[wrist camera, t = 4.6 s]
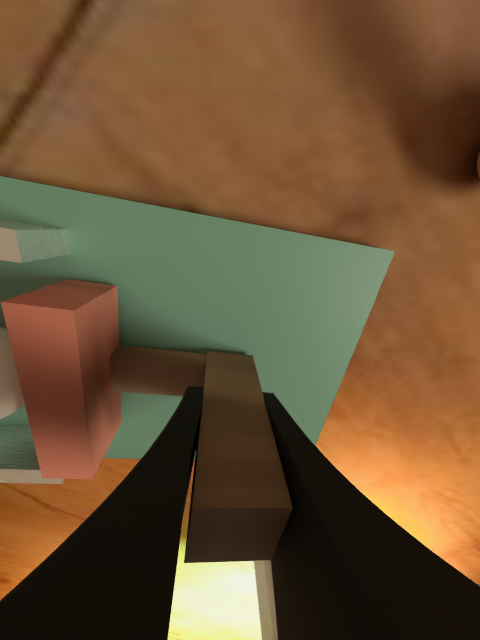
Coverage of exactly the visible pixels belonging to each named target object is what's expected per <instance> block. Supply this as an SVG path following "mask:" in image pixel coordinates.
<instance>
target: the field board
mask: <svg viewBox="0 0 480 640" xmlns="http://www.w3.org/2000/svg"><path fill="white" fill-rule="evenodd" d="M0 218H1V219H7V220H13V221H19V222H25V223H31V224H37V225H43V226H49V227H55V228H61V229H67V236H68V245H69V255H63V256H58V257H52V258H47V259H41V260H35V261H30V262H24V263H18V262H11V261H4V260H0V327H3V328H7V326H6V322H5V318H4V313H3V309H2V305H1V302H2V301H5V300H8V299H11V298H14V297H17V296H20V295H23V294H25V293H28V292H31V291H34V290H37V289H40V288H43V287H46V286H49V285H52V284H55V283H58V282H61V281H64V280H67V279H71V280H79V281H86V282H93V283H100V284H108V285H115V286H117V289H118V320H119V345H123V346H133V347H143V348H152V349H162V350H172V351H182V352H192V353H201V354H207V351H215V352H224V353H234V354H243V355H253V358H254V362H255V366H256V370H257V373H258V377H259V381H260V385H261V389H262V392H268V393H274V394H275V396H276V397H277V398H278V400H279V401H280V402H281V404H282V405H283V406H284V408H285V409H286V410H287V412H288V413H289V414H290V416H291V417H292V418H293V420H294V421H295V422H296V423H297V425H298V426H299V427H300V428H301V430H302V431H303V432H304V433H305V434H306V436H307V437H308V438H309V439H310V440H311V442H312V443H313V444H314V445H316V442H317V440H318V437H319V435H320V432H321V430H322V428H323V425H324V423H325V420H326V418H327V415H328V413H329V411H330V408H331V406H332V403H333V401H334V398H335V396H336V394H337V391H338V389H339V386H340V384H341V381H342V379H343V376H344V374H345V372H346V369H347V367H348V364H349V362H350V359H351V357H352V355H353V352H354V350H355V347H356V345H357V342H358V340H359V338H360V335H361V333H362V330H363V328H364V325H365V323H366V321H367V318H368V316H369V313H370V311H371V308H372V306H373V303H374V301H375V299H376V296H377V294H378V291H379V289H380V286H381V284H382V282H383V279H384V277H385V274H386V272H387V269H388V267H389V265H390V262H391V260H392V257H393V255H394V252H395V251H390V250H385V249H380V248H375V247H369V246H364V245H359V244H354V243H349V242H343V241H338V240H333V239H328V238H322V237H317V236H312V235H307V234H301V233H296V232H291V231H286V230H280V229H275V228H270V227H265V226H259V225H254V224H249V223H244V222H238V221H233V220H228V219H223V218H217V217H212V216H207V215H202V214H196V213H191V212H186V211H181V210H175V209H170V208H165V207H160V206H154V205H149V204H144V203H139V202H134V201H128V200H123V199H118V198H113V197H107V196H102V195H97V194H92V193H86V192H81V191H76V190H71V189H65V188H60V187H55V186H50V185H44V184H39V183H34V182H29V181H23V180H18V179H13V178H8V177H2V176H0ZM182 398H183V397H181V396H168V395H154V394H141V393H127V392H121V411H122V422H121V424H120V426H119V428H118V430H117V432H116V434H115V436H114V438H113V440H112V442H111V444H110V446H109V448H108V450H107V452H106V454H105V456H104V458H127V459H141V458H142V457H143V456H144V455H145V453H146V452H147V451H148V450H149V448H150V447H151V446H152V444H153V443H154V442H155V440H156V439H157V437H158V436H159V435H160V433H161V432H162V430H163V429H164V428H165V426H166V425H167V423H168V421H169V420H170V418H171V417H172V415H173V414H174V412H175V410H176V409H177V407H178V405H179V403H180V402H181V400H182ZM0 424H20V425H30V424H29V420H28V415H27V411H26V407H25V405H24V406H22V407H21V408H20V409H18V410H17V411H15V412H14V413H12V414H10V415H8V416H6V417H4V418H2V419H0ZM195 455H196V452H195ZM194 461H195V457H194Z"/></svg>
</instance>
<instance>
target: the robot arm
mask: <svg viewBox="0 0 480 640" xmlns="http://www.w3.org/2000/svg"><path fill="white" fill-rule="evenodd" d="M203 392H204V387H195V386H189V387H187V388H186V391H185V393H184V395H183V398H182V400H181V402H180V403H179V405H178V407H177V409H176V410H175V412H174V414H173V415H172V417H171V418H170V420H169V421H168V423H167V425H166V426H165V428H164V429H163V430H162V432H161V433H160V435H159V436H158V437H157V439H156V440H155V442H154V443H153V444H152V446H151V447H150V448H149V450H148V451H147V452H146V453H145V455H144V456H143V457H142V458H141V460H140V461H139V462H138V463H137V465H136V466H135V467H134V468H133V469H132V471H131V472H130V473H129V474H128V475H127V476H126V478H125V479H124V480H123V481H122V482H121V483H120V484H119V485H118V486H117V488H116V489H115V490H114V491H113V492H112V493H111V494H110V495H109V496H108V498H107V499H106V500H105V501H104V502H103V503H102V504H101V505H100V506H99V507H98V508H97V509H96V510H95V511H94V512H93V513H92V514H91V515H90V516H89V517H88V518H87V519H86V520H85V521H84V522H83V523H82V524H81V525H80V526H79V527H78V528H77V529H76V530H75V531H74V532H73V533H72V534H71V535H70V536H69V537H68V538H67V539H66V540H65V541H64V542H63V543H62V544H61V545H60V546H59V547H58V548H57V549H56V550H55V551H54V552H53V553H52V554H51V555H50V556H49V557H48V558H46V559H45V560H44V561H43V562H42V563H41V564H40V565H39V566H38V567H37V568H36V569H34V570H33V571H32V572H31V573H30V574H29V575H28V576H27V577H26V578H25V579H24V580H22V581H21V582H20V583H19V584H18V585H17V586H16V587H15V588H14V589H13V590H11V591H10V592H9V593H8V594H7V595H6V596H5V597H4V598H3V599H2V600H1V601H0V640H167V638H168V630H169V622H170V614H171V606H172V598H173V590H174V582H175V574H176V566H177V558H178V550H179V542H180V534H181V526H182V519H183V513H184V508H185V503H186V498H187V493H188V488H189V483H190V478H191V472H192V467H193V462H194V457H195V452H196V446H197V439H198V432H199V424H200V417H201V410H202V403H203ZM262 393H263V396H264V402H265V406H266V409H267V412H268V416H269V419H270V423H271V427H272V431H273V435H274V438H275V442H276V446H277V450H278V454H279V458H280V461H281V465H282V469H283V473H284V477H285V481H286V484H287V488H288V492H289V496H290V500H291V504H292V507H293V509H292V511H291V514H290V516H289V519H288V521H287V523H286V526H285V528H284V530H283V533H282V535H281V538H280V540H279V542H278V545H277V547H276V549H275V552H274V554H273V557H272V559H271V560H261V561H254V565H255V575H256V585H257V594H258V604H259V614H260V623H261V633H262V640H480V586H478V585H477V584H476V583H474V582H473V581H472V580H470V579H469V578H468V577H466V576H465V575H463V574H462V573H461V572H459V571H458V570H457V569H455V568H454V567H453V566H451V565H450V564H448V563H447V562H446V561H444V560H443V559H442V558H440V557H439V556H437V555H436V554H435V553H433V552H432V551H431V550H429V549H428V548H427V547H426V546H424V545H423V544H422V543H421V542H419V541H418V540H417V539H416V538H414V537H413V536H412V535H410V534H409V533H408V532H407V531H405V530H404V529H403V528H402V527H400V526H399V525H398V524H397V523H396V522H394V521H393V520H392V519H391V518H390V517H388V516H387V515H386V514H385V513H384V512H383V511H381V510H380V509H379V508H378V507H377V506H376V505H375V504H373V503H372V502H371V501H370V500H369V499H368V498H367V497H366V496H364V495H363V494H362V493H361V492H360V491H359V490H358V489H357V488H356V487H355V486H354V485H353V484H351V483H350V482H349V481H348V480H347V479H346V478H345V477H344V476H343V475H342V474H341V473H340V472H339V471H338V470H337V469H336V468H335V467H334V466H333V465H332V464H331V463H330V462H329V460H328V459H327V458H326V457H325V456H324V455H323V454H322V453H321V452H320V451H319V449H318V448H317V447H316V446H315V445H314V444H313V443H312V442H311V440H310V439H309V438H308V437H307V436H306V434H305V433H304V432H303V431H302V430H301V428H300V427H299V426H298V425H297V423H296V422H295V421H294V420H293V418H292V417H291V416H290V414H289V413H288V412H287V410H286V409H285V408H284V406H283V405H282V404H281V402H280V401H279V400H278V398H277V397H276V396H275V394H274V393H268V392H262Z"/></svg>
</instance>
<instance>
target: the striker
mask: <svg viewBox="0 0 480 640" xmlns="http://www.w3.org/2000/svg"><path fill="white" fill-rule="evenodd" d="M1 305H2V309H3V313H4V318H5V322H6V326H7V330H8V335H9V339H10V343H11V347H12V352H13V356H14V360H15V364H16V369H17V373H18V377H19V381H20V386H21V390H22V394H23V398H24V403H25V407H26V411H27V415H28V420H29V424H30V428H31V432H32V437H33V441H34V445H35V449H36V454H37V458H38V462H39V466H40V471H41V475H42V478H46V479H93V478H94V476H95V474H96V472H97V470H98V468H99V466H100V464H101V462H102V460H103V458H104V456H105V454H106V452H107V450H108V448H109V446H110V444H111V442H112V440H113V438H114V436H115V434H116V432H117V430H118V428H119V426H120V424H121V422H122V411H121V392H127V393H141V394H154V395H168V396H181V397H183V395H184V393H185V391H186V388H187V387H189V386H195V387H204V392H203V403H202V410H201V417H200V424H199V432H198V439H197V446H196V455H195V464H194V474H193V483H192V493H191V502H190V512H189V522H188V531H187V541H186V550H185V560H184V563H195V562H228V561H261V560H271V559H272V557H273V554H274V552H275V549H276V547H277V545H278V542H279V540H280V538H281V535H282V533H283V530H284V528H285V526H286V523H287V521H288V519H289V516H290V514H291V511H292V509H293V507H292V504H291V500H290V496H289V492H288V488H287V484H286V481H285V477H284V473H283V469H282V465H281V461H280V458H279V454H278V450H277V446H276V442H275V438H274V435H273V431H272V427H271V423H270V419H269V416H268V412H267V409H266V406H265V402H264V396H263V393H262V389H261V385H260V381H259V377H258V373H257V370H256V366H255V362H254V358H253V355H243V354H234V353H224V352H215V351H207V354H201V353H192V352H182V351H172V350H162V349H152V348H143V347H133V346H123V345H119V320H118V289H117V286H115V285H108V284H100V283H93V282H86V281H79V280H71V279H67V280H64V281H61V282H58V283H55V284H52V285H49V286H46V287H43V288H40V289H37V290H34V291H31V292H28V293H25V294H23V295H20V296H17V297H14V298H11V299H8V300H5V301H2V302H1Z"/></svg>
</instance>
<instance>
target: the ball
mask: <svg viewBox="0 0 480 640" xmlns="http://www.w3.org/2000/svg"><path fill="white" fill-rule="evenodd" d="M24 405H25V403H24V398H23V394H22V390H21V386H20V381H19V377H18V373H17V369H16V364H15V360H14V356H13V352H12V347H11V343H10V339H9V335H8V330H7V328H3V327H0V419H2V418H4V417H6V416H8V415H10V414H12V413H14V412H15V411H17V410H18V409H20V408H21V407H22V406H24Z"/></svg>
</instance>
